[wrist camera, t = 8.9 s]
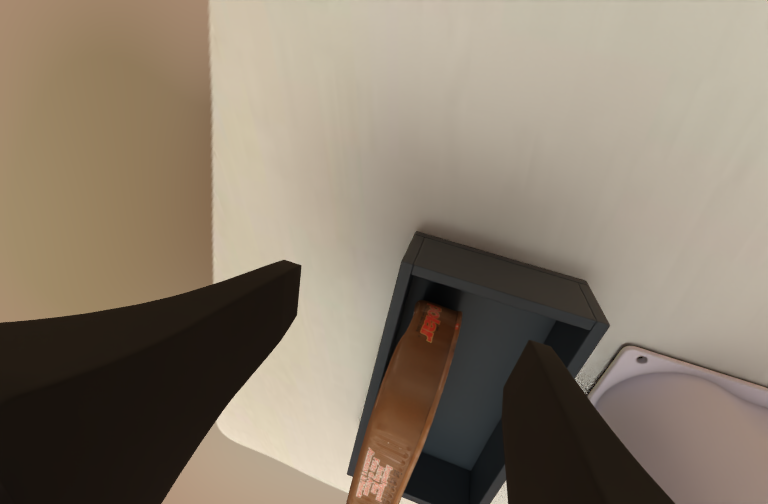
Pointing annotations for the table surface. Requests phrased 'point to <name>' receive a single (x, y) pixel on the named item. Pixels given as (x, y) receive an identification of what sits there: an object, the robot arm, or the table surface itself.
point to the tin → (405, 405)
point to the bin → (479, 356)
